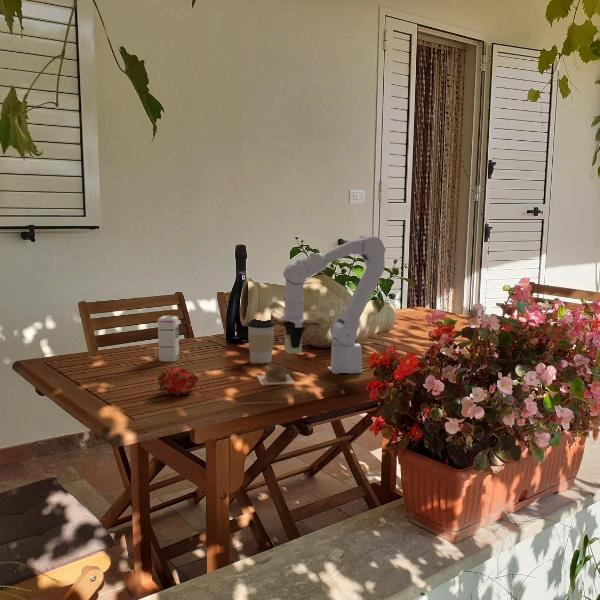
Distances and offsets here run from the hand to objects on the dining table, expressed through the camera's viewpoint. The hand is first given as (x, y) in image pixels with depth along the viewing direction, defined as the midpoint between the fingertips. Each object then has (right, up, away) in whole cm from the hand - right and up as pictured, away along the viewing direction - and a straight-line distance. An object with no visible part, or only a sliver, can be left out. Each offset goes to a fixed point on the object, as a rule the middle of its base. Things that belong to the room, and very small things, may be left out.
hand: (293, 345), depth 204 cm
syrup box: (-42, -6, +16) cm, 45 cm away
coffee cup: (-11, -7, +14) cm, 19 cm away
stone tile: (-5, -10, -8) cm, 14 cm away
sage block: (0, -2, 0) cm, 2 cm away
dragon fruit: (-32, -12, -22) cm, 40 cm away
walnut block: (-5, -10, -8) cm, 13 cm away
